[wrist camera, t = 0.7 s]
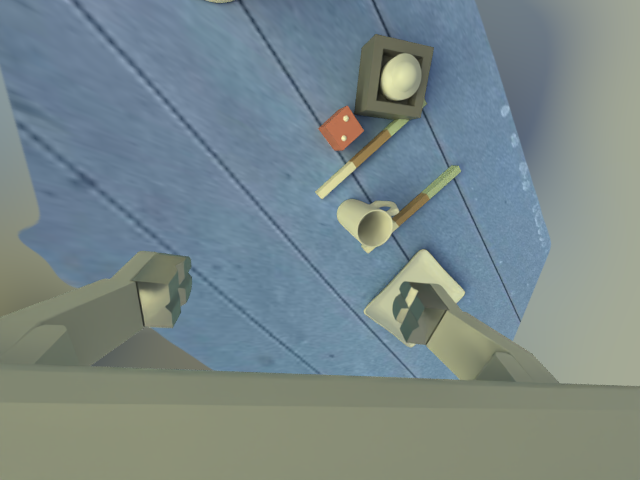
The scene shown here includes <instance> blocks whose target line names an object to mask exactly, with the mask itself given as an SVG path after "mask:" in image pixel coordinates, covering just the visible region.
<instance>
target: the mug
mask: <svg viewBox="0 0 640 480" xmlns="http://www.w3.org/2000/svg"><path fill="white" fill-rule="evenodd" d="M384 206H388V207H391V208H390V209H389V210H388V211H386V212H385V211H383V210H381V209H379V208H380V207H384ZM398 213H399V210H398V208H397V206H396V204H395V203H394V202H391V201H375V202H373V203H371V204H366V203H364V202H362V201H359V200H356V199H348V200H346V201H344V202H343V203H342V204H341V205H340V206H339V208H338V211H337V218H338V221H339V222H340V224H341V225H342V226H343V227H344V228H345V229H347V230H348V231H349V232H350V233H351V234H352V235H353V236H354V237H355V238H356V239H357V240H358V241H359V242H360V243H361V244H363V245H364V246H366V247H378V246H380V245H382V244H384V243H385V242H386V241H387V240H388V239H389V237H390V236H391V234H392V231H393V220H392V218H391V216H394V215H396V214H398Z"/></svg>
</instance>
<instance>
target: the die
mask: <svg viewBox="0 0 640 480" xmlns="http://www.w3.org/2000/svg"><path fill="white" fill-rule="evenodd" d="M318 129H319V130H320V132H321V133H322V134H323V136H324V137H325V138H326V140H327V141H328V142H329V144H330V145H331V147H332V148H333V149H334V150H344V149H345V148H346V147H347V146H348V145H349V144H350V143H351V142H352V141H354V140H355V139H356V138H357V137H358V136H359V135H360V134H361V133H362V132H363V131H364V130H363V128H362V127H361V125H360V124H359V122H358V121H357V119H356V118H355V116H354V115H353V113H352V112H351V110H350V109H349V107H348V105H347V106H345V107H343V108H341V109H339V110H338V111H337V112H336V113H335V114H334V115H332V116H331V117H330V118H329V119H328V120H327V121H326V122H325V123H324V124H323V125H322V126H321V127H319V128H318Z"/></svg>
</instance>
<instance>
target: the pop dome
mask: <svg viewBox="0 0 640 480" xmlns="http://www.w3.org/2000/svg"><path fill="white" fill-rule="evenodd" d="M420 82H421V67H420V64H419V62H418V61H417V59H416V58H415V57H414V56H412V55H411V54H408V53H402V54H399V55H397V56H396V57H394V58H393V59H391V60H390V61H388V62H387V63H386V64H385V65H384V67H383V68H382V70H381V73H380V77H379V86H380V90H381V92H382V94H383V95H384V97H385V98H386V99H388V100H390V101H393V102H397V101H401V100H404V99H407V98H409V97H411V96H412V95H413V94H414V93H415V92H416V91H417V89H418V88H419V85H420Z"/></svg>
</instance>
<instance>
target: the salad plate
mask: <svg viewBox="0 0 640 480" xmlns="http://www.w3.org/2000/svg"><path fill="white" fill-rule="evenodd" d="M404 281H408V282H418V283H432V284H439V285H441V286H442V287H443V288H444V289H445V291H446V292H447V293H448V294H449V296H450V297H451V298H452V299H453V300H454V302H455V303H457V302H458V301H459V300H460V299H461V298H462V297H463V296H464V294H465V291H464V290H463V289H462V287H461V286H460V285H459V284H458V283H457V282H456V281H455V280H454V279H453V278H452V277H451V276H450V275H449V274H448V273H447V272H446V271H445V270H444V269H443V268H442V267H441V265H440V264H439V263H438V262H437V261H436V260H435V258H434V257H433V256H432V255H431V254H430V253H429V252H428V251H427V250H425V249H421V250H419V251H418V252H417V253H416V254H415V255H414V256H413V257H412V259H411V260H410V261H409V262H408V263H407V264H406V265H405V267H404V268H403V269H402V270H401V271H400V272H399V273H398V274H397V275H396V276H395V278H394V279H393V280H392V281H391V282H390V283H389V284H388V285H387V286H386V287H385V288H384V289H383V290H382V291H381V292H380V293H379V294H378V295H377V296H376V297H375V298H374V299H373V300H372V301H371V302H370V303H369V304H368V305H367V306H366V308H365V309H364V314H365V315H367V316H368V317H369V318H371V319H372V320H374V321H375V322H376V323H378V324H379V325H381V326H382V327H384V328H385V329H386V330H388V331H389V332H390V333H392V334H393V335H394V336H396V337H397V338H398V339H399V340H400V341H401V342H403V343H404V344H405V345H407V346H408V347H413V346H414V345H415V344H412V343H406V341H405V339H404V337H403V335H402V333H401V331H400V327H401V324H400V323H398V322H397V321H396V320H395V318H394V316H393V311H392V308H393V302H394V299H395V297H396V296H398V295H399V294H400V290H399V288H400V286H401V284H402V283H403V282H404Z"/></svg>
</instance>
